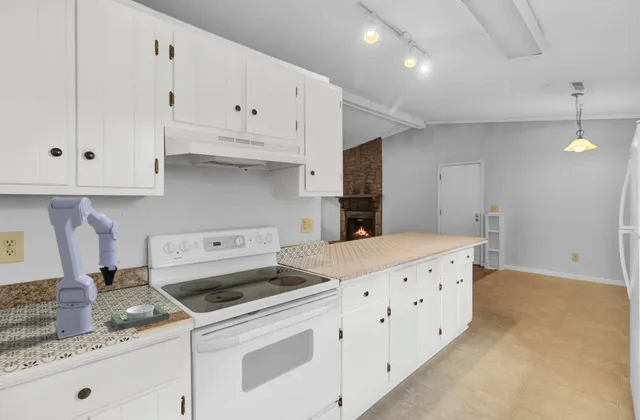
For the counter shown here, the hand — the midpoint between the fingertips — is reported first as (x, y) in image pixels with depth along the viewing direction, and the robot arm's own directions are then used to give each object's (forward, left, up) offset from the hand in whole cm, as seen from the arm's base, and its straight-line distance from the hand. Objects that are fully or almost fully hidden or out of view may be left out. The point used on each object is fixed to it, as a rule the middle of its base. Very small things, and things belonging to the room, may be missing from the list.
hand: (108, 285), depth 134 cm
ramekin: (+6, -20, -10) cm, 23 cm away
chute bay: (+6, -20, -9) cm, 23 cm away
